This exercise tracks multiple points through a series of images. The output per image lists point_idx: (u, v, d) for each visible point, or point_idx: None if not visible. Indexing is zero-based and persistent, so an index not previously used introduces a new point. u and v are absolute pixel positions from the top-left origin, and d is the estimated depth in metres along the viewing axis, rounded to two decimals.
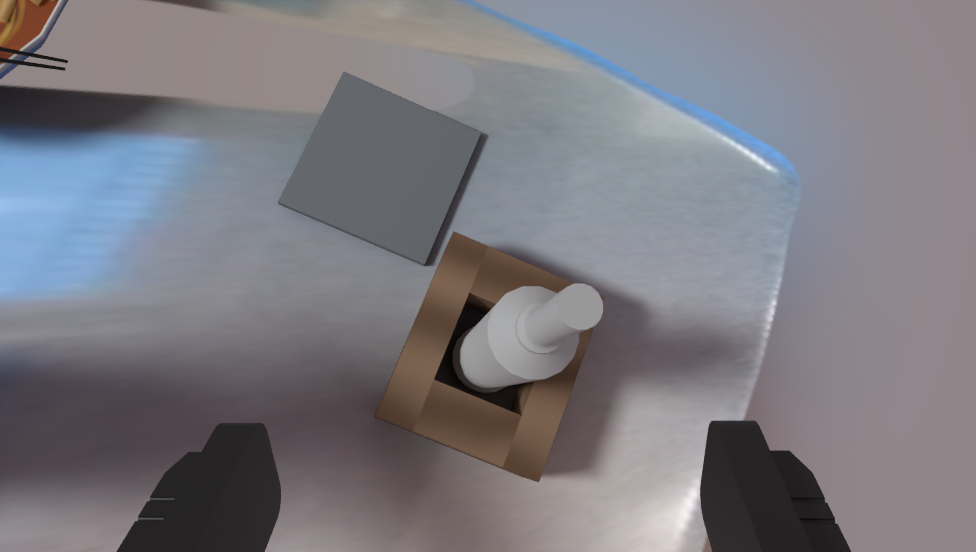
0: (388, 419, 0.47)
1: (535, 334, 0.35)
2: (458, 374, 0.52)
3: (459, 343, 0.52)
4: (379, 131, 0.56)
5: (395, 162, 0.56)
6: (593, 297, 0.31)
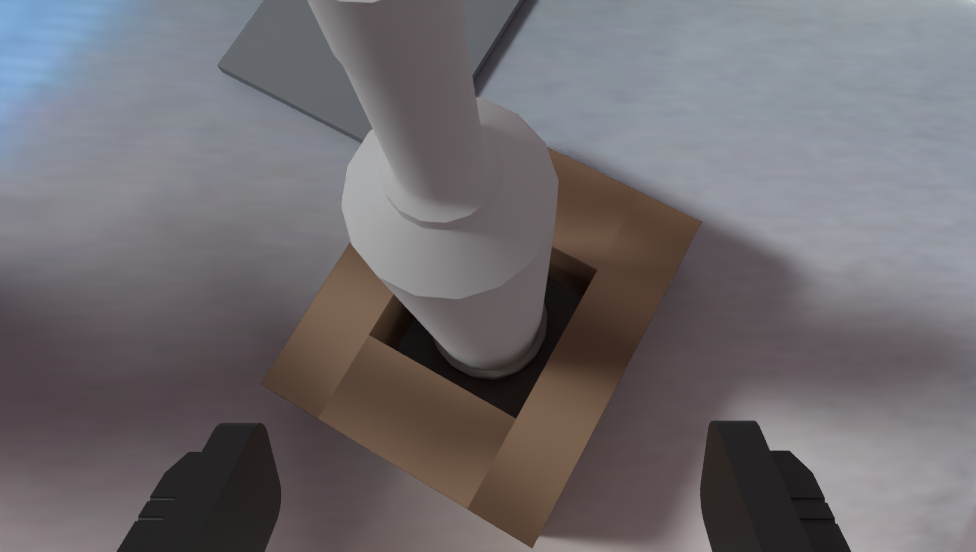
0: (280, 393, 0.27)
1: (382, 148, 0.13)
2: (435, 340, 0.31)
3: None
4: None
5: None
6: None
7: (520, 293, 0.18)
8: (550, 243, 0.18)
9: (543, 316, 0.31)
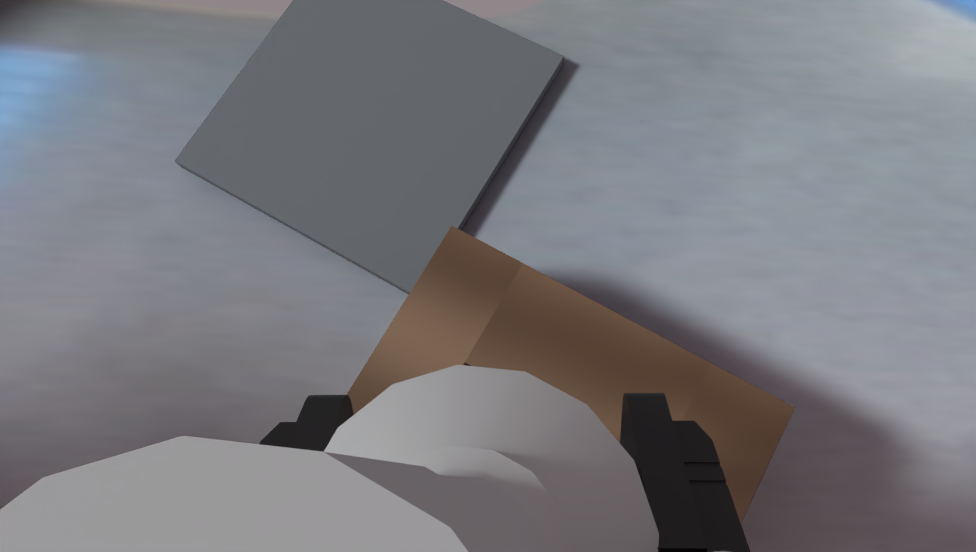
0: None
1: None
2: None
3: None
4: (374, 49, 0.31)
5: (392, 103, 0.30)
6: None
7: None
8: None
9: None
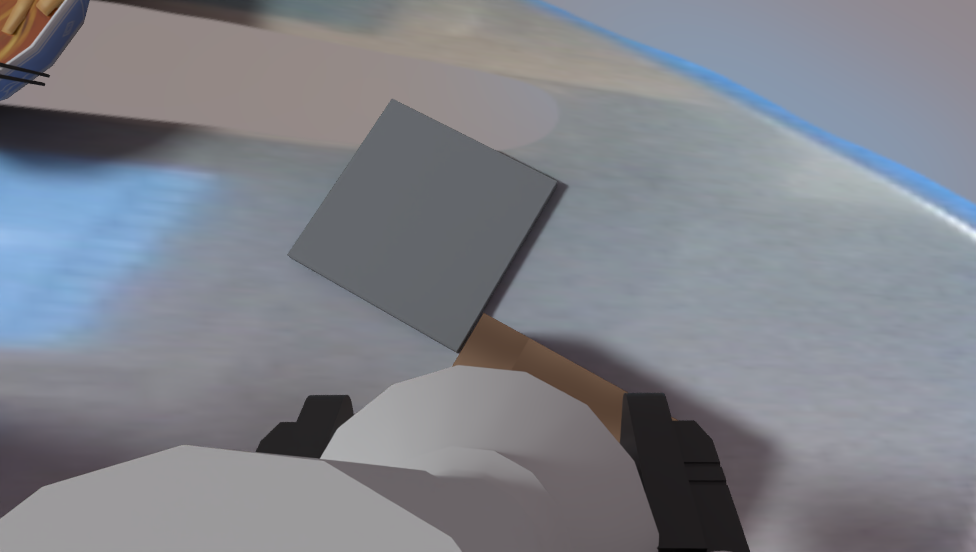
0: None
1: None
2: None
3: None
4: (424, 174, 0.44)
5: (437, 214, 0.43)
6: None
7: None
8: None
9: None
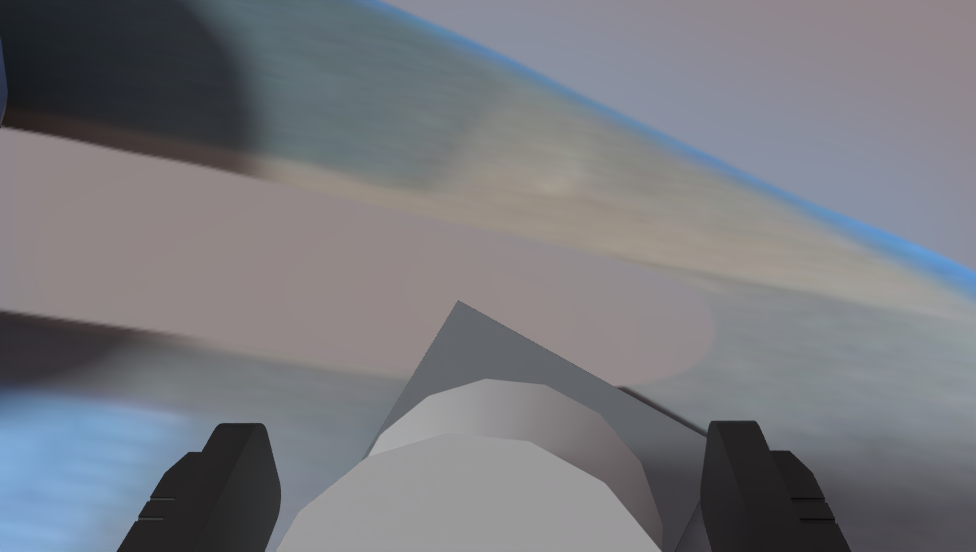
0: None
1: None
2: None
3: None
4: None
5: None
6: None
7: None
8: None
9: None
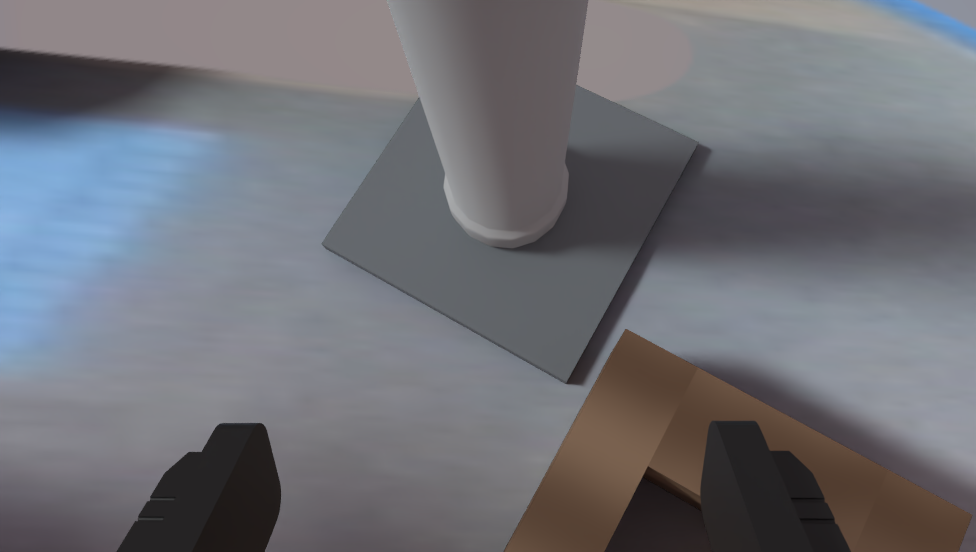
0: None
1: None
2: (449, 202, 0.29)
3: None
4: None
5: None
6: None
7: (555, 38, 0.17)
8: None
9: (564, 176, 0.29)
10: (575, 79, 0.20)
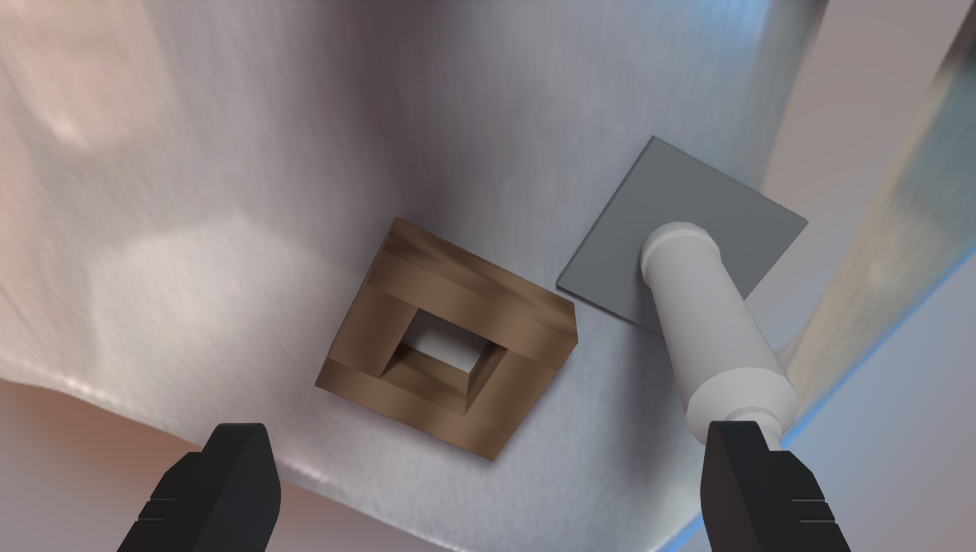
0: (378, 262, 0.44)
1: None
2: (669, 233, 0.45)
3: (705, 239, 0.45)
4: (721, 254, 0.48)
5: None
6: None
7: None
8: None
9: None
10: None
